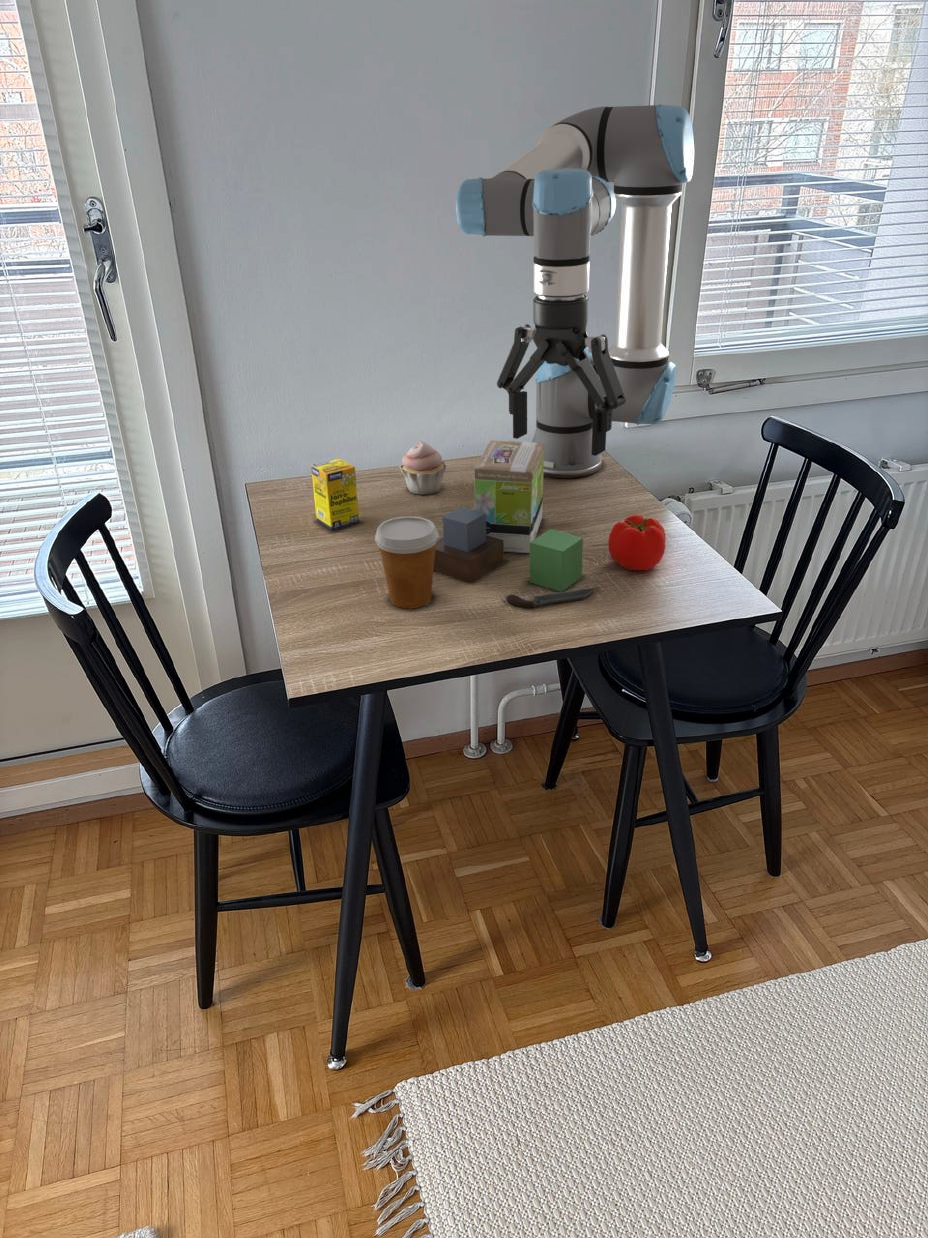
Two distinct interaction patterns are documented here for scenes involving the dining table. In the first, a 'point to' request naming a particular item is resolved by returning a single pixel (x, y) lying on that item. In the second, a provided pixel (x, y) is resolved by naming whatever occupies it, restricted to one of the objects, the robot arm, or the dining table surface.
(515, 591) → the dining table surface
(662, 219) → the robot arm
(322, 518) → the supplement box
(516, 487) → the tea box
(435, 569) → the walnut plinth
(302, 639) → the dining table surface
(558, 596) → the knife
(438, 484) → the cupcake
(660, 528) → the tomato
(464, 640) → the dining table surface
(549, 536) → the green block
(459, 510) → the slate block
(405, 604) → the disposable coffee cup
